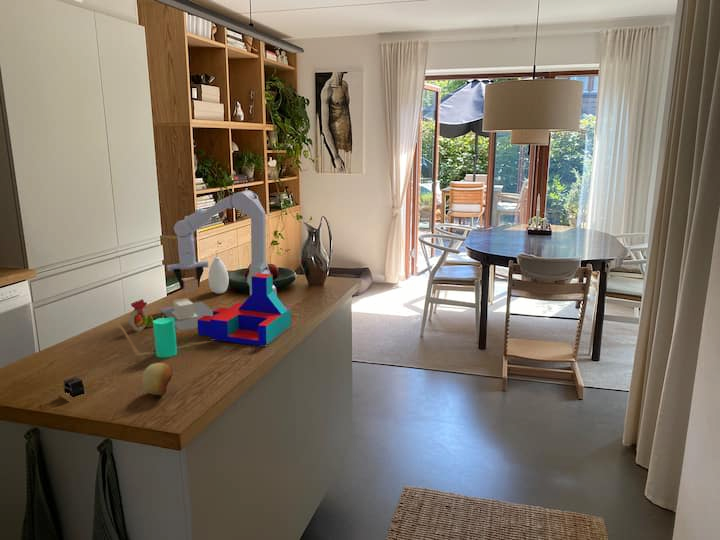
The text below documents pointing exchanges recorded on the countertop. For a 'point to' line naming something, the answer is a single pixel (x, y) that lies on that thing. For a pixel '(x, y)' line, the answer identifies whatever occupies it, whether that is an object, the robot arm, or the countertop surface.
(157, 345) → the candle
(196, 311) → the baseplate
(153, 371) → the fruit
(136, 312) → the bird rattle
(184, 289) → the terracotta brick
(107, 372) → the countertop surface
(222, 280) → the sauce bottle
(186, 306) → the cream brick
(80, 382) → the black block
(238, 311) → the building blocks toy
